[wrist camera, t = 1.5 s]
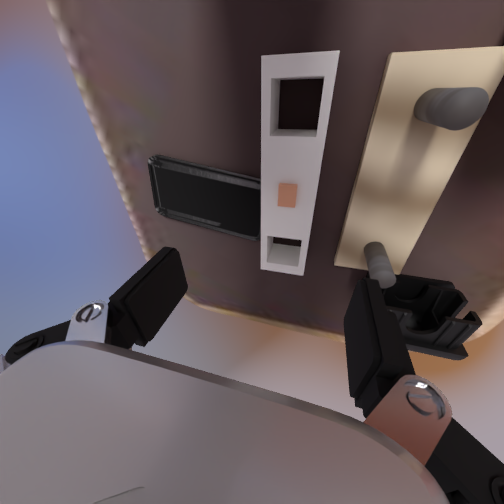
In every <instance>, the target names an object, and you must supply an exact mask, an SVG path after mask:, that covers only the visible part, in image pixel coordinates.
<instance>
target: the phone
mask: <svg viewBox="0 0 504 504" xmlns="http://www.w3.org/2000/svg"><path fill="white" fill-rule="evenodd" d="M148 168H149V174H150V180H151V186H152V192H153V199H154V205H155V209H156V210H157V212H158V213H159V214H161V215H162V216H165V217H169V218H173V219H176V220H180V221H184V222H187V223H191V224H195V225H198V226H202V227H205V228H209V229H213V230H216V231H220V232H224V233H227V234H231V235H234V236H238V237H242V238H245V239H249V240H252V241H258V240H260V239H261V179H259V178H255V177H251V176H247V175H242V174H238V173H234V172H230V171H226V170H221V169H217V168H213V167H209V166H204V165H200V164H196V163H192V162H188V161H183V160H179V159H175V158H171V157H166V156H162V155H154V156H152V157H150V158H149V160H148Z"/></svg>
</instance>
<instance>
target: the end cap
mask: <svg viewBox="0 0 504 504" xmlns="http://www.w3.org/2000/svg"><path fill="white" fill-rule="evenodd" d="M395 276H396V283H395V284H394V285H393V286H391V287H388V288H381V291H382V294H383V297H384V301H385V304H386V308H387V311H391V312H394V313H395V314H396V316H397V319H398V322H399V325H400V328H401V331H402V334H403V337H404V340H405V343H406V347H407V350H410V351H415V352H420V353H424V354H429V355H433V356H438V357H443V358H448V359H452V360H462V359H464V358H466V357H468V353H467V352H466V350H465V348H464V346H463V344H462V343H463V342H464V341H466V340H467V339H468V338H469V337H470V336H471V335H472V334H473V333H474V332H475V331H476V330H477V329H478V328H479V327H480V326H481V325H482V321H481V320H480V318H479V317H478V315H477V314H476V312H473V311H470V312H469V313H468V314H467V315H466V316H465V317H464V318H463V319H457V318H455V317H456V315H457V314H458V313H459V312H460V311H461V310H462V309H463V308H464V306H465V305H466V304H467V303H468V301H467V299H466V298H465V296H464V295H463V293H462V292H460V291H459V290H456V289H455V287H454V285H453V283H452V282H449V281H442V280H436V279H429V278H422V277H416V276H409V275H402V274H399V275H397V274H395ZM366 278H370V275H369V272H368V274H367V276H366Z"/></svg>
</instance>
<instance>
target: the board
mask: <svg viewBox="0 0 504 504" xmlns="http://www.w3.org/2000/svg"><path fill="white" fill-rule="evenodd" d="M503 75H504V46H497V47H480V48H463V49H446V50H429V51H413V52H396V53H391V54H389V55H388V57H387V61H386V65H385V69H384V73H383V76H382V80H381V84H380V88H379V91H378V95H377V99H376V103H375V107H374V110H373V114H372V118H371V122H370V126H369V129H368V133H367V137H366V141H365V144H364V148H363V152H362V156H361V160H360V163H359V167H358V171H357V175H356V179H355V182H354V186H353V190H352V194H351V197H350V201H349V205H348V209H347V213H346V216H345V220H344V224H343V228H342V232H341V235H340V239H339V243H338V247H337V250H336V254H335V258H334V265H336V266H343V267H349V268H356V269H363V270H368V271H369V275H370V278H371V279H377V280H378V281H379V284H380V287H381V288H388V287H391V286H393V285H394V284H395V283H396V276H395V274H397V275H399V274H400V272H401V270H402V268H403V266H404V264H405V262H406V261H407V259H408V257H409V255H410V253H411V251H412V249H413V247H414V245H415V243H416V241H417V239H418V238H419V236H420V234H421V232H422V230H423V228H424V226H425V224H426V222H427V220H428V218H429V217H430V215H431V213H432V211H433V209H434V207H435V205H436V203H437V201H438V199H439V197H440V195H441V194H442V192H443V190H444V188H445V186H446V184H447V182H448V180H449V178H450V176H451V174H452V173H453V171H454V169H455V167H456V165H457V163H458V161H459V159H460V157H461V155H462V153H463V151H464V150H465V148H466V146H467V144H468V142H469V140H470V138H471V136H472V134H473V132H474V130H475V129H476V127H477V125H478V123H479V121H480V119H481V117H482V115H483V114H484V113H485V111H486V109H487V107H488V104H489V102H490V100H491V98H492V96H493V94H494V92H495V90H496V88H497V86H498V85H499V83H500V81H501V79H502V77H503Z"/></svg>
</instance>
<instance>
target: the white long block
mask: <svg viewBox="0 0 504 504" xmlns="http://www.w3.org/2000/svg"><path fill="white" fill-rule="evenodd" d="M339 53H340V50H338V51H323V52H308V53H293V54H278V55H263V56H261V269H264V270H270V271H276V272H282V273H288V274H295V275H301V276H303V274H304V268H305V262H306V256H307V249H308V243H309V237H310V231H311V225H312V219H313V213H314V206H315V200H316V194H317V188H318V182H319V176H320V170H321V163H322V157H323V151H324V145H325V139H326V133H327V127H328V120H329V114H330V108H331V102H332V96H333V90H334V83H335V77H336V71H337V65H338V59H339ZM323 78H324V84H323V92H322V99H321V106H320V113H319V120H318V128H317V130H315V129H278V121H279V98H280V80H298V79H323ZM273 237H281V238H289V239H297V240H302V243H301V247H298V246H290V245H283V244H275V243H273Z"/></svg>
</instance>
